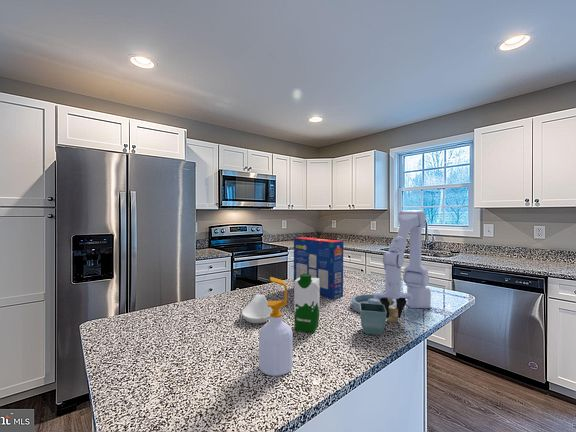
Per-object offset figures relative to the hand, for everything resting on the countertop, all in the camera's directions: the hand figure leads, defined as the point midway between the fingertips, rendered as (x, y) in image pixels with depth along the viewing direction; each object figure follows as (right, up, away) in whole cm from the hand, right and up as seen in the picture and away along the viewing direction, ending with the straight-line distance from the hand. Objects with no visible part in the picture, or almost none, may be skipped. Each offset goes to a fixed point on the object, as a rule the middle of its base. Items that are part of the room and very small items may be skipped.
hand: (392, 317), depth 115 cm
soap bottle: (-44, -2, -35) cm, 56 cm away
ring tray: (-3, -1, +15) cm, 15 cm away
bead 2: (0, -1, 0) cm, 1 cm away
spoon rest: (-53, -2, +5) cm, 53 cm away
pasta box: (-26, -1, +40) cm, 48 cm away
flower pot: (-11, -2, -11) cm, 16 cm away
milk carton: (-34, -2, -8) cm, 35 cm away
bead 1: (+1, 0, +11) cm, 11 cm away
